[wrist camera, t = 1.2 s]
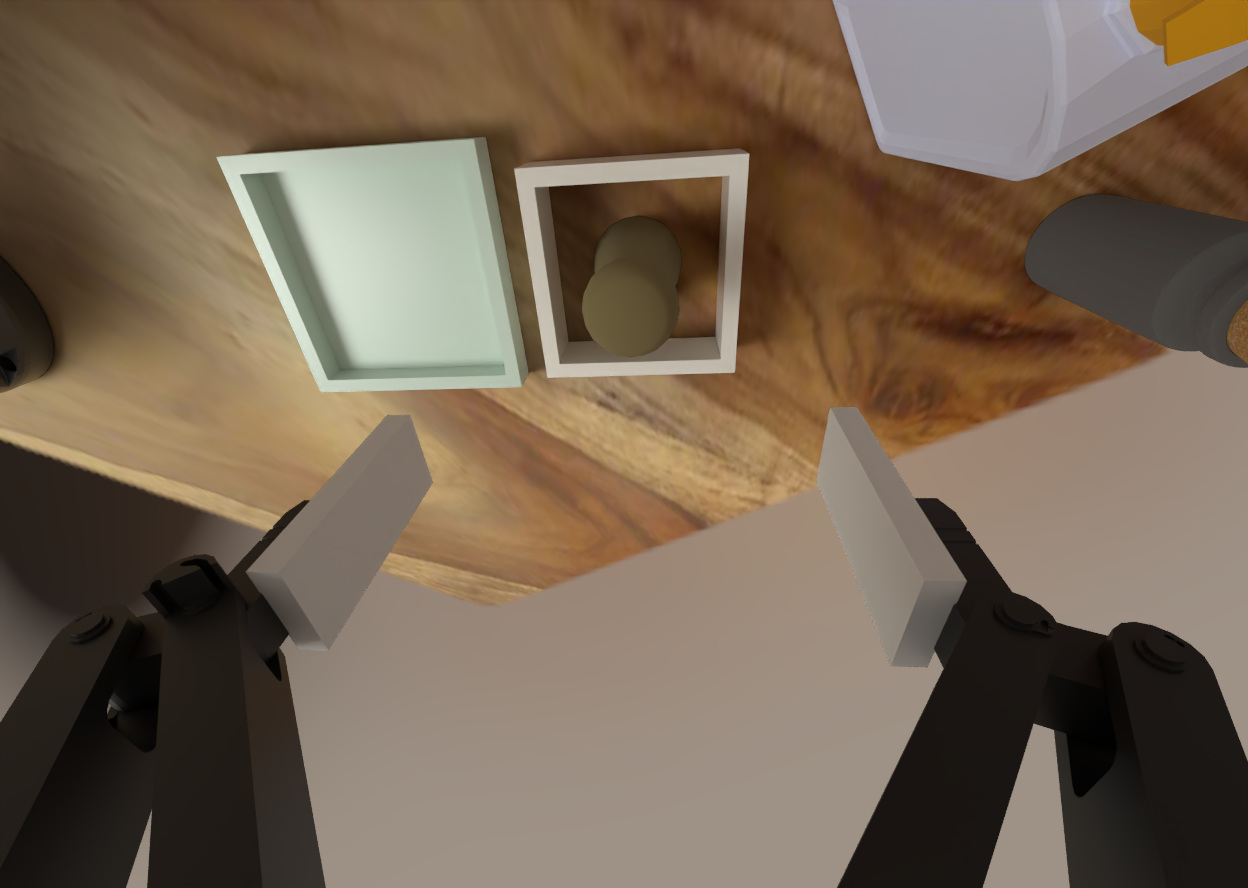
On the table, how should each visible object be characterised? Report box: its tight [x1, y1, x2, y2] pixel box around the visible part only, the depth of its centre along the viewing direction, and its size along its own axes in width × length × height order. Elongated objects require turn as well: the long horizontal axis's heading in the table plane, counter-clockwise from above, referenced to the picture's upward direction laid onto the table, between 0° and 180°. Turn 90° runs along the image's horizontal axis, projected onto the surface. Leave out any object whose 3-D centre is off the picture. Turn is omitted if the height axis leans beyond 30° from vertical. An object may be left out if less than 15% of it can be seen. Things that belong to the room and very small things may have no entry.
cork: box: [582, 216, 682, 357], centre depth 30 cm, size 6×6×11 cm
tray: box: [217, 137, 529, 392], centre depth 35 cm, size 16×16×2 cm
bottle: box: [1025, 194, 1248, 368], centre depth 26 cm, size 6×6×15 cm
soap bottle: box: [833, 0, 1248, 181], centre depth 18 cm, size 9×7×23 cm
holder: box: [514, 148, 749, 378], centre depth 33 cm, size 13×13×4 cm
